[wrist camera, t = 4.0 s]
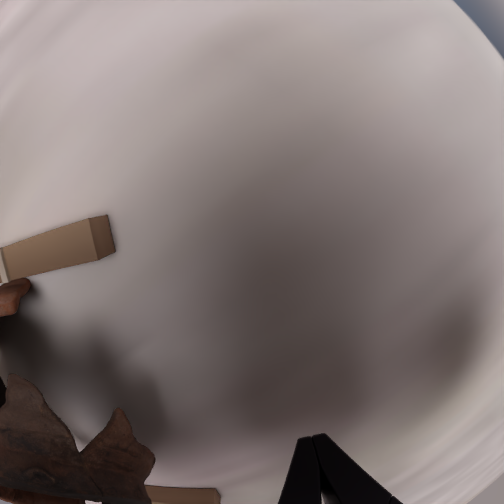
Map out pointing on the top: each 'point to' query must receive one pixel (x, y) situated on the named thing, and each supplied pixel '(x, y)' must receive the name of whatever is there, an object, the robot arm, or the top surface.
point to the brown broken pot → (62, 446)
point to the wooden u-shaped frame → (69, 254)
